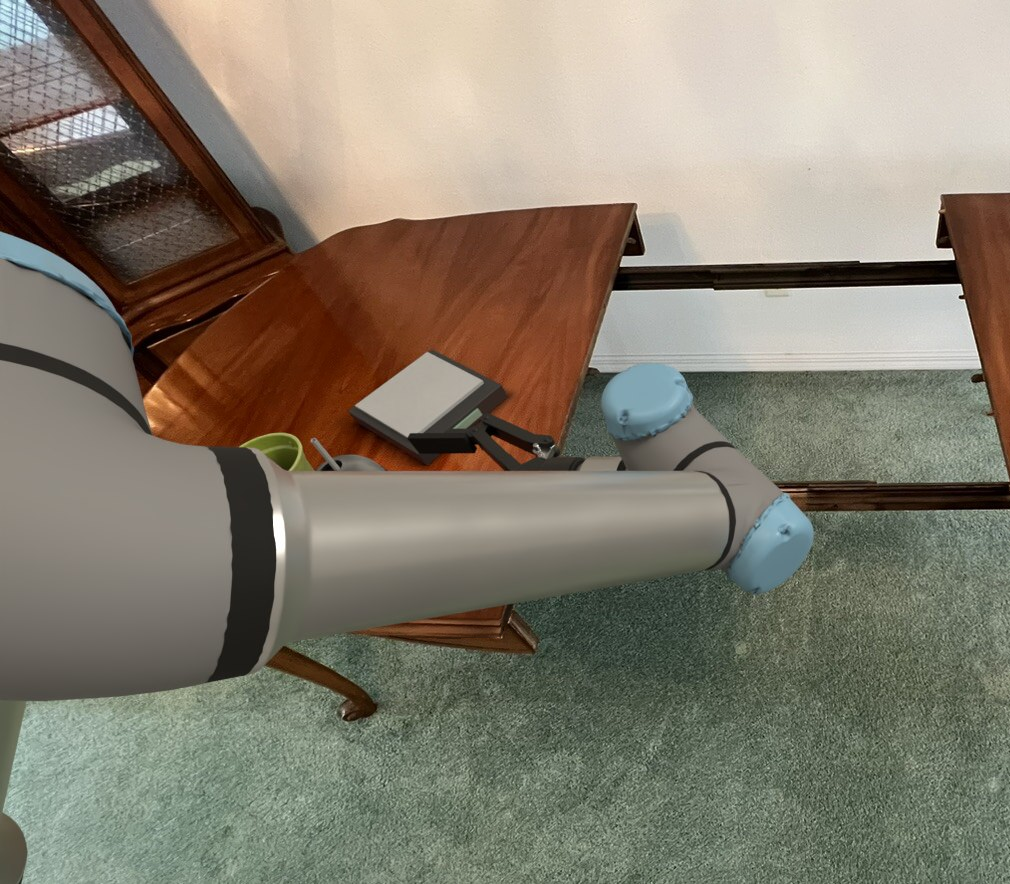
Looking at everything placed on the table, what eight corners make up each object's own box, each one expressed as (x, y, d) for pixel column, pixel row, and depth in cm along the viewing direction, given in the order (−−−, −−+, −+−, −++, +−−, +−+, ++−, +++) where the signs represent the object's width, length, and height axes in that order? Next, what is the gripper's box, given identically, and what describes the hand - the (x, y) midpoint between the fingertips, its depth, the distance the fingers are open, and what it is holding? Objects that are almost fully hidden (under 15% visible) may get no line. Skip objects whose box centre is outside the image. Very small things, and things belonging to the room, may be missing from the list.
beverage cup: (397, 518, 81) (291, 408, 66) (452, 523, 80) (357, 412, 65) (365, 571, 77) (242, 466, 61) (423, 577, 76) (313, 472, 60)
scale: (428, 466, 86) (416, 452, 84) (358, 423, 92) (344, 408, 90) (509, 397, 93) (500, 382, 91) (439, 361, 99) (429, 345, 97)
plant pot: (323, 537, 80) (275, 496, 73) (249, 539, 81) (194, 498, 74) (357, 474, 86) (315, 431, 79) (288, 476, 87) (240, 433, 80)
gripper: (565, 624, 63) (353, 621, 65) (620, 425, 79) (449, 426, 81) (536, 587, 58) (304, 585, 59) (602, 380, 73) (418, 383, 75)
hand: (387, 493), depth 70 cm, fingers open, 13 cm apart
